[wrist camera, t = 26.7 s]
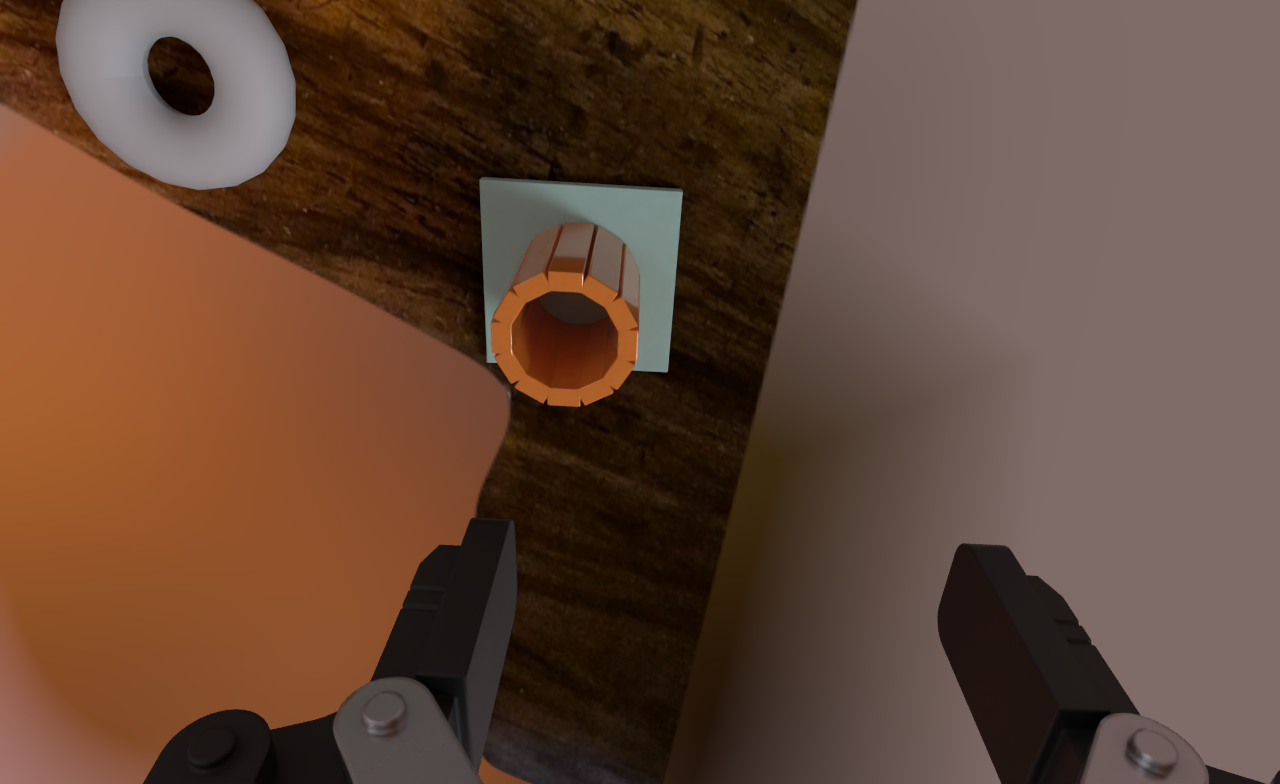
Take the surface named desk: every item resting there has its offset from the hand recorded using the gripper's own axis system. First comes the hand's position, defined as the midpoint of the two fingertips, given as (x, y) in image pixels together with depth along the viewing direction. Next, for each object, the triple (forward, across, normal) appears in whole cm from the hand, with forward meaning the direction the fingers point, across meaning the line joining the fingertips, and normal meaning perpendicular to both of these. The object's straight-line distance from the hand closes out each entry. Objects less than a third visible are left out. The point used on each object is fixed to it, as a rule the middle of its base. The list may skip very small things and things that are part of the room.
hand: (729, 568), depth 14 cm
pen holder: (+27, +5, +5) cm, 28 cm away
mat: (+28, +5, +4) cm, 28 cm away
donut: (+27, +23, -5) cm, 36 cm away
